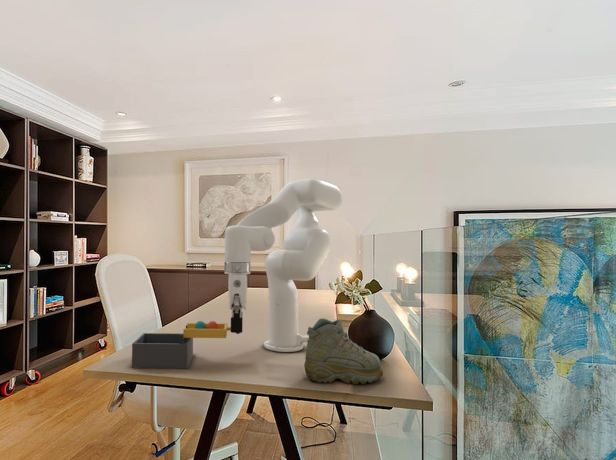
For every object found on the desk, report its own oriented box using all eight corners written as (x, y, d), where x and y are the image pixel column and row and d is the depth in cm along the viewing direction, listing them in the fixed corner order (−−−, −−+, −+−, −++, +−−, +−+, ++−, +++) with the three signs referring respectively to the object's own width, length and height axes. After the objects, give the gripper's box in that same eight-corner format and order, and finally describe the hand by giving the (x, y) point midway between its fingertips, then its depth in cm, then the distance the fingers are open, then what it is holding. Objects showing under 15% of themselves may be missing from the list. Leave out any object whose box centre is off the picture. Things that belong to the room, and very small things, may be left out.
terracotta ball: (218, 331, 112) (218, 320, 112) (217, 333, 109) (217, 322, 109) (207, 331, 112) (207, 320, 112) (206, 333, 109) (206, 322, 109)
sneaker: (389, 388, 89) (386, 322, 91) (304, 383, 93) (303, 320, 95) (380, 376, 99) (377, 317, 101) (304, 373, 103) (303, 316, 105)
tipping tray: (241, 331, 114) (241, 322, 114) (241, 338, 106) (240, 328, 106) (187, 331, 115) (187, 322, 115) (183, 337, 107) (183, 328, 107)
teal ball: (206, 331, 112) (206, 320, 112) (205, 333, 109) (205, 322, 109) (195, 331, 112) (195, 320, 112) (194, 333, 109) (194, 322, 109)
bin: (192, 355, 116) (193, 325, 117) (187, 368, 104) (187, 334, 104) (143, 354, 117) (143, 324, 117) (131, 367, 105) (132, 334, 105)
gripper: (251, 270, 102) (250, 336, 101) (249, 267, 119) (249, 323, 118) (222, 270, 102) (222, 335, 101) (225, 267, 119) (224, 322, 118)
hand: (236, 328), depth 110 cm, fingers open, 9 cm apart
